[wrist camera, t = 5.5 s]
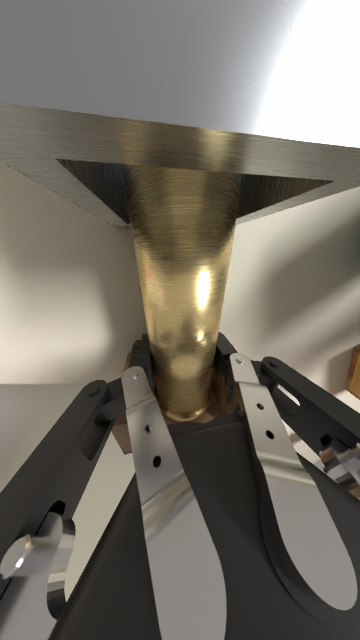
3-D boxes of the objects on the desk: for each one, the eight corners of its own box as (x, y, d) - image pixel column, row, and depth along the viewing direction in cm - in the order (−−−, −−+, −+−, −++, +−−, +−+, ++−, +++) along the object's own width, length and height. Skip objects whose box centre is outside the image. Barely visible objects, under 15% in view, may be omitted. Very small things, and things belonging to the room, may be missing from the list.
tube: (127, 180, 7) (76, 57, 3) (217, 186, 8) (303, 98, 3) (156, 376, 15) (156, 433, 10) (200, 370, 15) (218, 420, 11)
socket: (220, 342, 15) (260, 398, 9) (216, 369, 17) (245, 427, 12) (128, 353, 14) (108, 426, 8) (135, 381, 16) (124, 454, 10)
